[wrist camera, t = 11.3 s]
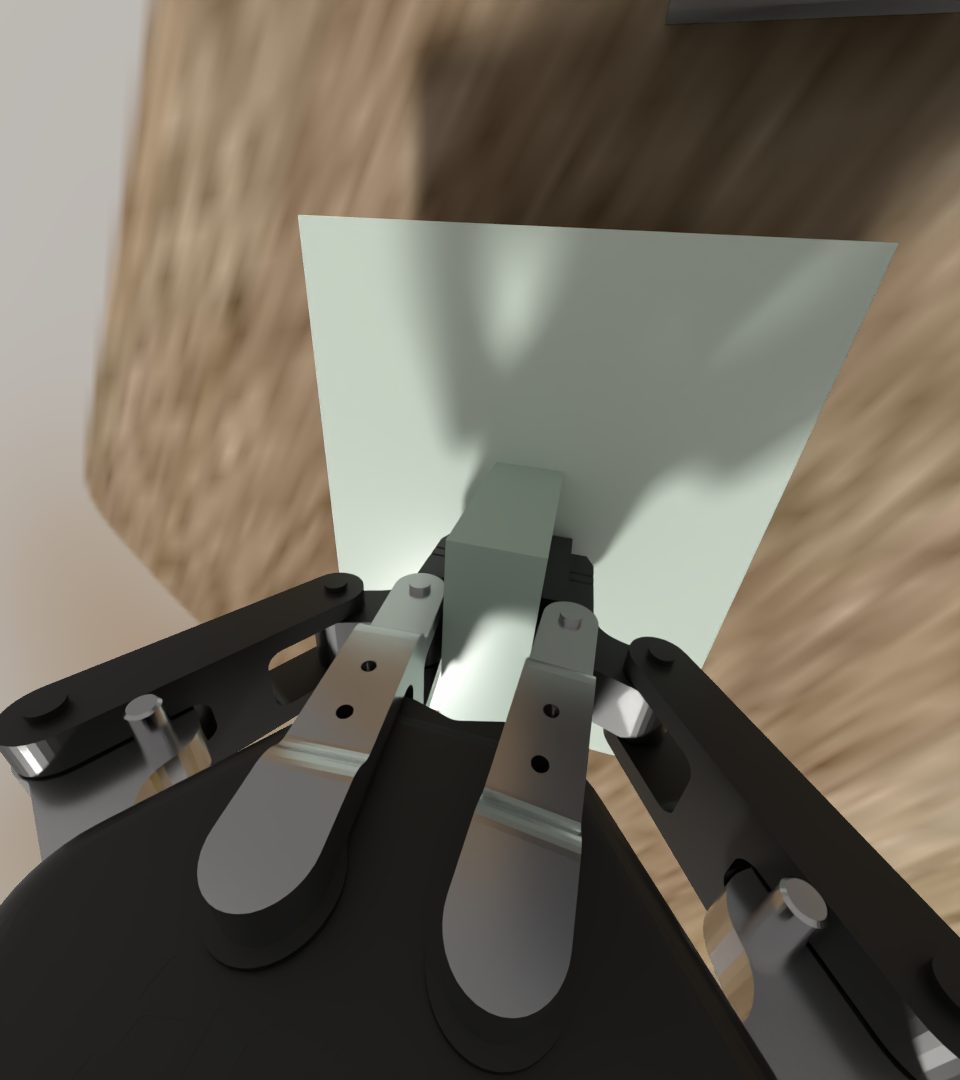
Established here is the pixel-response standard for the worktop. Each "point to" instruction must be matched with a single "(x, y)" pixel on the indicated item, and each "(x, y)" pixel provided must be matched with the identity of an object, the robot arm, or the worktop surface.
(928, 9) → the tub
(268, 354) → the worktop surface
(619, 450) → the lid
